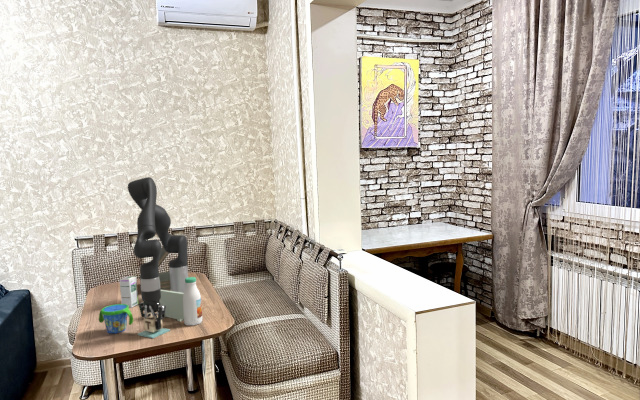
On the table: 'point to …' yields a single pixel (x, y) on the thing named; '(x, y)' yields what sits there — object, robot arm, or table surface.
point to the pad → (153, 333)
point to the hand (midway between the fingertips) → (153, 328)
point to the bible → (163, 276)
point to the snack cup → (115, 317)
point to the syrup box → (129, 291)
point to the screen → (172, 304)
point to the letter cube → (150, 324)
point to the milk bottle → (192, 303)
